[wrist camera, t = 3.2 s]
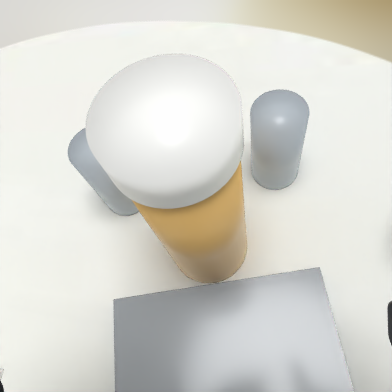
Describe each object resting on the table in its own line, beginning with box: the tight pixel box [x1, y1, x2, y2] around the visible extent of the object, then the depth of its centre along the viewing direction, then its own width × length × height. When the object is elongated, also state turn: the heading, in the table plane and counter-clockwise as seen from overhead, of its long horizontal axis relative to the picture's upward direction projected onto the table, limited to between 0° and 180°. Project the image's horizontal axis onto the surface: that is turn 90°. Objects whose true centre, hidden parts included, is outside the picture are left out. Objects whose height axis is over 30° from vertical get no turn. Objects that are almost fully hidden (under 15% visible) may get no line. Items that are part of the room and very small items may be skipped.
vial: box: [85, 54, 247, 283], centre depth 17 cm, size 5×5×13 cm
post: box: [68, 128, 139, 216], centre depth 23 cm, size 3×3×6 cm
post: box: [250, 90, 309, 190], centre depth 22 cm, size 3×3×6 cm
